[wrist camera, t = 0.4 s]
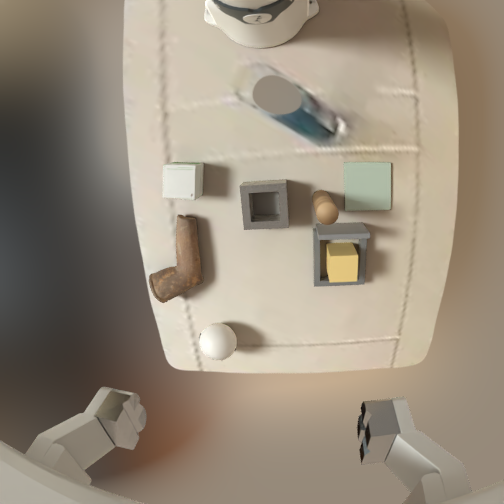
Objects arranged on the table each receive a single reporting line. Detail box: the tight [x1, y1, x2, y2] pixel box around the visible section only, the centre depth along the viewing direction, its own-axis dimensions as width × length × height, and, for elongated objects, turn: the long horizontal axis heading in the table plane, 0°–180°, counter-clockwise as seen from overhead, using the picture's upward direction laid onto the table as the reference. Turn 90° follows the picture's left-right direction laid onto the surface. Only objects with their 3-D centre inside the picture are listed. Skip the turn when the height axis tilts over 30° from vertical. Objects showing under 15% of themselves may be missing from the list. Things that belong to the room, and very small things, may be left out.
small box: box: [163, 162, 204, 200], centre depth 50 cm, size 6×6×5 cm
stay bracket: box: [240, 180, 289, 230], centre depth 50 cm, size 7×7×4 cm
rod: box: [312, 190, 339, 225], centre depth 46 cm, size 3×3×10 cm
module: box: [326, 242, 358, 283], centre depth 51 cm, size 4×4×6 cm
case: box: [313, 222, 370, 287], centre depth 51 cm, size 11×9×6 cm
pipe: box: [149, 215, 204, 303], centre depth 55 cm, size 6×17×10 cm
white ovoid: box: [199, 323, 237, 361], centre depth 59 cm, size 10×7×7 cm
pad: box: [344, 162, 391, 211], centre depth 48 cm, size 8×8×1 cm
